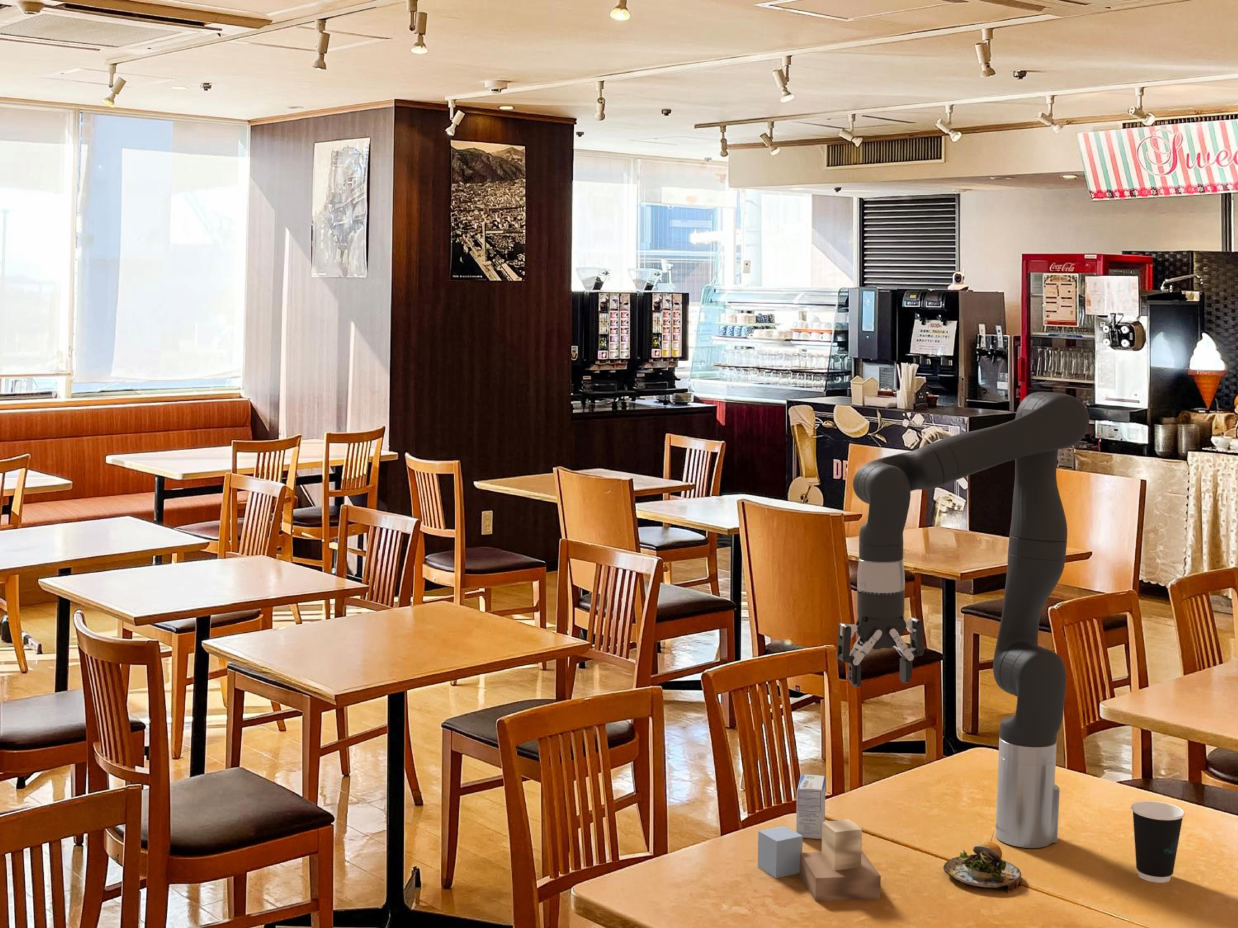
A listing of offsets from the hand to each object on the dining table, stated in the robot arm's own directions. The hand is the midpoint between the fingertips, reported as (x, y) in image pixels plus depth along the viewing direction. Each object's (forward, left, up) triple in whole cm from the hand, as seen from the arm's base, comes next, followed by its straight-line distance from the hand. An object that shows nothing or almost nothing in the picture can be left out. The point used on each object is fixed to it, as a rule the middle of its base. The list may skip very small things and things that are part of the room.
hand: (880, 684), depth 228 cm
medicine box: (+7, -10, -28) cm, 31 cm away
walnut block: (+12, +13, -28) cm, 33 cm away
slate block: (+18, +5, -28) cm, 34 cm away
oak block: (+11, +13, -24) cm, 30 cm away
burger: (-12, +15, -28) cm, 34 cm away
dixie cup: (-39, +20, -28) cm, 52 cm away
